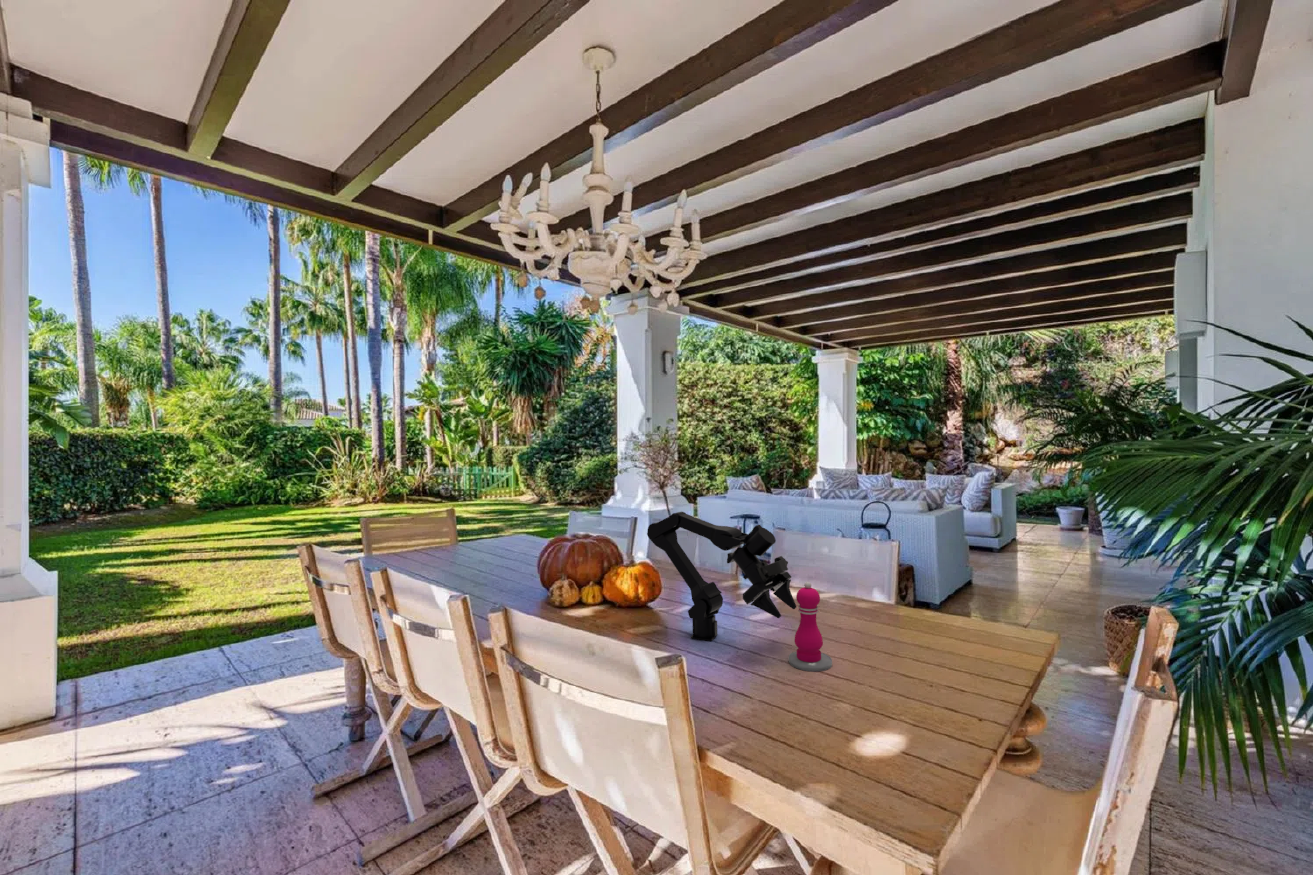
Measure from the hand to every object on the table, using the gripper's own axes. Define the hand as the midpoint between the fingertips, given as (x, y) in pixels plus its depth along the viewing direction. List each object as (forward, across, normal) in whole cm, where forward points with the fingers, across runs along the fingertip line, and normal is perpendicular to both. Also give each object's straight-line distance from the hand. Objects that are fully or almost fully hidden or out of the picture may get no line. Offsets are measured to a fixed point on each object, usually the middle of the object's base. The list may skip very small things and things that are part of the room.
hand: (787, 612), depth 156 cm
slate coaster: (+13, 0, +4) cm, 14 cm away
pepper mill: (+12, 0, +4) cm, 12 cm away
